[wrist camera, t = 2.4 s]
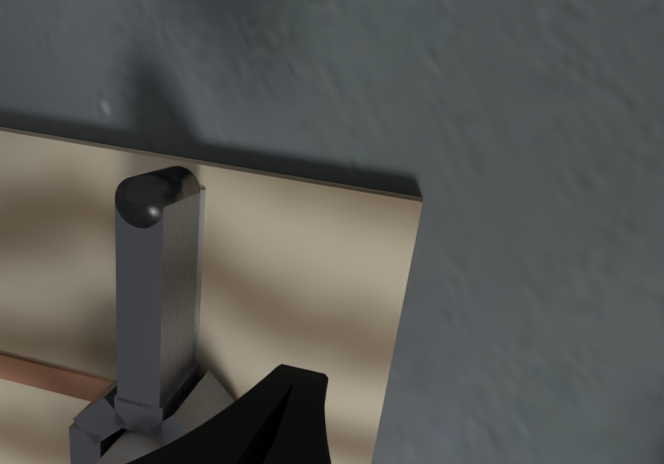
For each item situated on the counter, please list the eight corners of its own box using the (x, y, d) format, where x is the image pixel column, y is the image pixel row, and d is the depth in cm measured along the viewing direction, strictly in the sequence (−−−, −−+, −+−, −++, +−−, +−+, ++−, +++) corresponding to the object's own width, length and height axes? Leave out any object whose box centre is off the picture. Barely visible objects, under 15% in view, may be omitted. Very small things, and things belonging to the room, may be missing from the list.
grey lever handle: (234, 483, 25) (205, 543, 21) (117, 452, 26) (72, 504, 22) (260, 177, 20) (228, 192, 16) (113, 152, 21) (54, 162, 17)
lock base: (346, 584, 27) (325, 725, 21) (-3, 482, 30) (-109, 578, 24) (422, 197, 20) (423, 240, 14) (-44, 119, 23) (-210, 125, 17)
